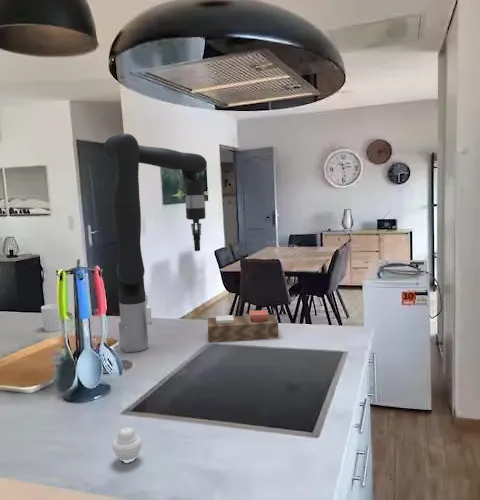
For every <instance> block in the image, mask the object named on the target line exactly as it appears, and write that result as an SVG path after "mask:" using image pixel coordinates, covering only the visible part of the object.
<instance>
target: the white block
mask: <svg viewBox="0 0 480 500" xmlns="http://www.w3.org/2000/svg"><path fill="white" fill-rule="evenodd" d="M233 317H234V315H233V314H232V315H228V314H227V315H216V316H215V318H216V324H224V323H234V318H233Z"/></svg>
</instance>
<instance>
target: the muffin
mask: <svg viewBox="0 0 480 500" xmlns="http://www.w3.org/2000/svg"><path fill="white" fill-rule="evenodd" d="M142 445H143V440H142V438H141V437H140V436H139V435H138V434H137V433H136V430H135V429H134V428H132V427H125V428H122V429H120V430H119V431H118V433H117V437H116V438H114V440H113V442H112V445H111V447H112V450H113V452H114V454H115V456H116V458H119V459H121V460H129V459H133V458H135V457H136V456H137V455H139V453H140V451H141V450H142V449H141V448H142ZM137 457H138V456H137ZM119 459H118V460H119Z"/></svg>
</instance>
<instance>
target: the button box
mask: <svg viewBox="0 0 480 500" xmlns="http://www.w3.org/2000/svg"><path fill="white" fill-rule="evenodd" d="M233 318H234V323H224V324H216V317H207V333H208V336H207V337H208V338H207V339H208V343H223V342H238V341H239V342H240V341H242V342H243V341H259V340H260V339H262V340H270V339H269V338H277V337H278V338H279V322H278V320H277V318H276V316H275V315H274V314H268V318H266V321H260V322H252V319H251V317H250V315H239V316H238V315H237V316H236V315H235V316H233Z"/></svg>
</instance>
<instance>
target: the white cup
mask: <svg viewBox="0 0 480 500" xmlns="http://www.w3.org/2000/svg"><path fill="white" fill-rule="evenodd" d="M57 304H58V303H51V304H45V305H42V306H41V307H40V311H41V318H42V324H43V329H44V332H49V333H51V332H52V333H53V332H57V331H60V330H62V329H61V324H60V321H59V317H58V306H57Z"/></svg>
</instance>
